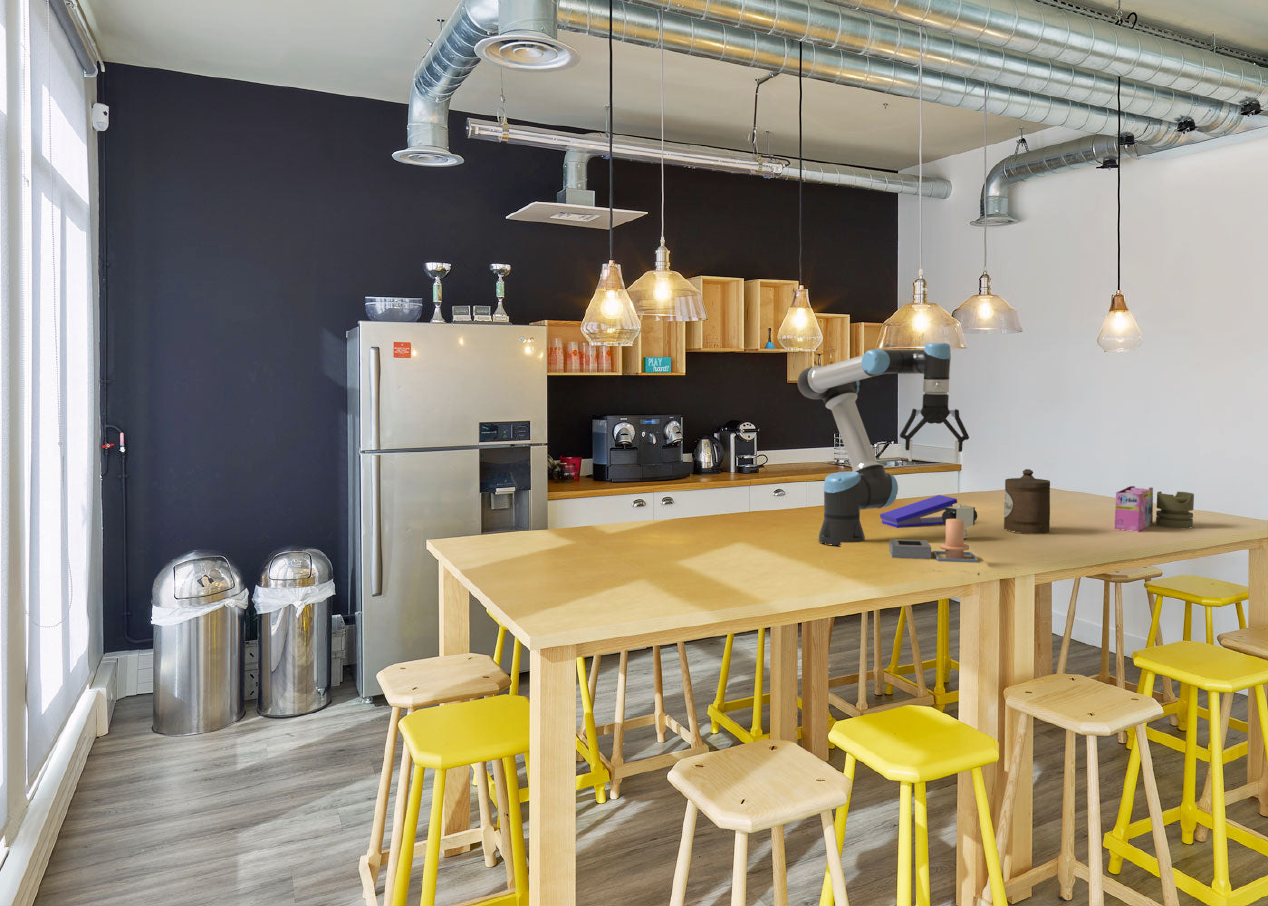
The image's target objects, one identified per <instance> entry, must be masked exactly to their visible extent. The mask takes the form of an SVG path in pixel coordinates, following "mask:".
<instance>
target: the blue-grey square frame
mask: <svg viewBox="0 0 1268 906" xmlns="http://www.w3.org/2000/svg"><path fill="white" fill-rule="evenodd" d="M945 554H946V550H932V555H933V557H935V560H937V562H947V563H948V562H949V563H950V562H951V563H952V562H953V563H956V562H957V563H979V559H978V558H977V557H976V555H975V554H973V552H972V551H964V556H970V557H971V558H963V559H952V558H944V557H943V558H942V557H939V556H938V555H945Z"/></svg>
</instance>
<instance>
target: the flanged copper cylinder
mask: <svg viewBox="0 0 1268 906" xmlns="http://www.w3.org/2000/svg"><path fill="white" fill-rule="evenodd" d="M964 529H965V528H964V520H962V519H946V525H945V542H944V543H940V545H939V547H940V549H941V550H943V551H946V554H944V555H945V556H944V557H945V558H952V559H964V556H965V555H964V552H966V551H969V550H970V545H968V544H966V543H965V539H964Z"/></svg>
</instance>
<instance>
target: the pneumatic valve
mask: <svg viewBox="0 0 1268 906" xmlns="http://www.w3.org/2000/svg"><path fill="white" fill-rule="evenodd" d="M941 517H942V520H943V522H944V523H945V524H943V525H944V526H946V519H962V520H964V538H966V539H967V538H968V537H967V536H968V530H967V528H966V527H971V526H975V525H976V524H975V522H976V521H977V519H978V512H977V511H976V507H975V506H968V505H962V503H957V505H956V506H953V507H945V510H943V511H942V515H941Z"/></svg>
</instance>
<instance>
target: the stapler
mask: <svg viewBox="0 0 1268 906" xmlns="http://www.w3.org/2000/svg"><path fill="white" fill-rule="evenodd" d="M955 504H958V499H957V497H956V498H955V497H951V496H946V495H940V494H938V495H934V496H931V497H929V498H926V499H922V500H919V501H917V502H913V503H910V504H907V505H904V506H901V507H898V508H895V509H892V510H888V511H885V512H883V513H880V514H879V517H880V519H881V524H882V523H883V525H886V524H887V526H891V527H893V528H897V529H898V528H909V527H925V525H926V526H936V525H935V524H939V525H944V524H945V523H944V522H943V520H942V516H933V517H928V516H929V515H930V516H931V515H933V514H936V513H939V512H941V511H942V512H944V510H945V507H954V506H953V505H955Z"/></svg>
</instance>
